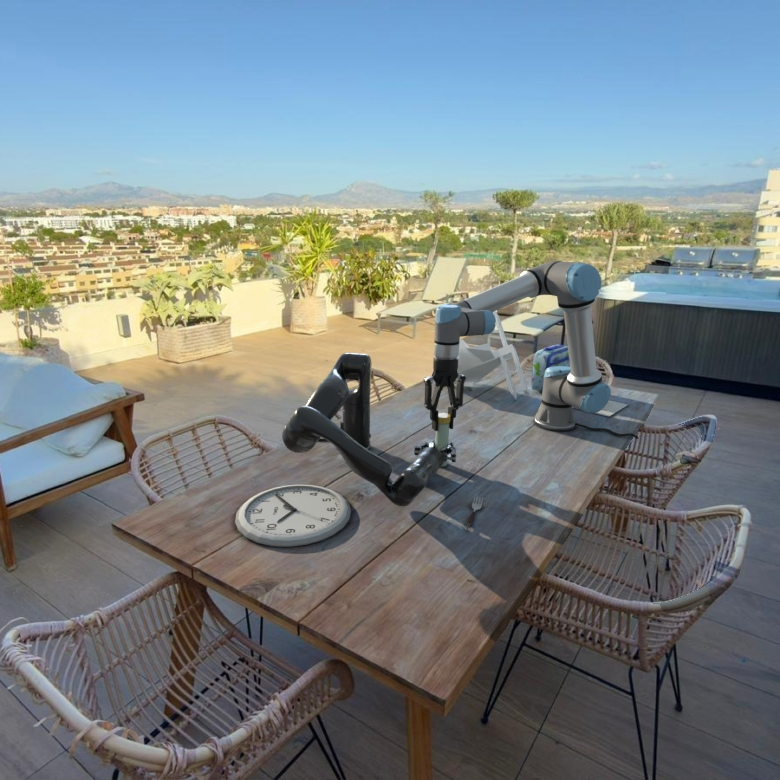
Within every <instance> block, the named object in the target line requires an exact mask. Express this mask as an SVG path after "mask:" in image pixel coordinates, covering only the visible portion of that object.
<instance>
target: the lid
mask: <svg viewBox="0 0 780 780" xmlns="http://www.w3.org/2000/svg"><path fill="white" fill-rule="evenodd" d="M450 421H451V415H450V414H448V412H438V423H449V422H450Z"/></svg>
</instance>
